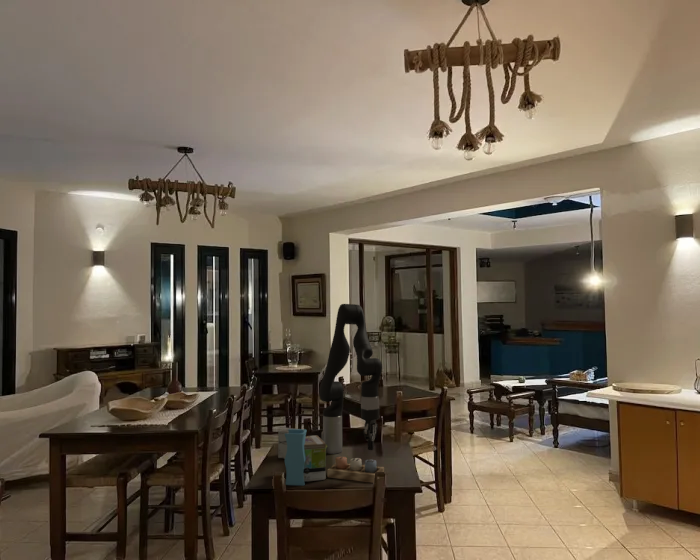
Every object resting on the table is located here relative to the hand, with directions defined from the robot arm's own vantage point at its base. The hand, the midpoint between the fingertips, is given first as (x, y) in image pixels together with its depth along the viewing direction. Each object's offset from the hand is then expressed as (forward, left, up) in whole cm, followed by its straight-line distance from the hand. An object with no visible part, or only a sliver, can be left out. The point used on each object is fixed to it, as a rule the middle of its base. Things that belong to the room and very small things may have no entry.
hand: (370, 449), depth 219 cm
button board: (-7, 0, -11) cm, 13 cm away
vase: (-27, -15, -12) cm, 33 cm away
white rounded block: (-7, 0, -9) cm, 11 cm away
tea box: (-25, -6, -12) cm, 28 cm away
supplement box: (-46, +15, -12) cm, 49 cm away
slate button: (0, 0, -9) cm, 9 cm away
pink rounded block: (-13, 0, -9) cm, 16 cm away
